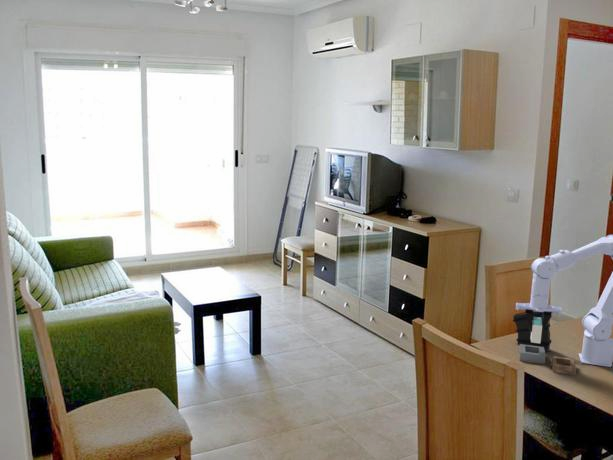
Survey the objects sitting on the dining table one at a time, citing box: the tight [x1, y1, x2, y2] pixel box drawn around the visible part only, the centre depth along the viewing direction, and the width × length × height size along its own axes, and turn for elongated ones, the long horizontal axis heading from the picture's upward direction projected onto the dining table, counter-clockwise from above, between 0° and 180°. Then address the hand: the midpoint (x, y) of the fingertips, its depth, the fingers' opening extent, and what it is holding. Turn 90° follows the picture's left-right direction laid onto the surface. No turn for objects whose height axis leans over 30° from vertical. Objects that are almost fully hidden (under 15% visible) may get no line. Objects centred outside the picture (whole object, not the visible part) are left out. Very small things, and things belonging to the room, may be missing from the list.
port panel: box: [518, 344, 546, 365], centre depth 200 cm, size 8×8×3 cm
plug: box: [530, 317, 542, 343], centre depth 197 cm, size 3×4×8 cm
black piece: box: [512, 311, 552, 352], centre depth 209 cm, size 4×13×15 cm, turn 54°
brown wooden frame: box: [550, 355, 576, 376], centre depth 192 cm, size 7×8×2 cm
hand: (536, 331), depth 198 cm, fingers closed on plug, 3 cm apart
